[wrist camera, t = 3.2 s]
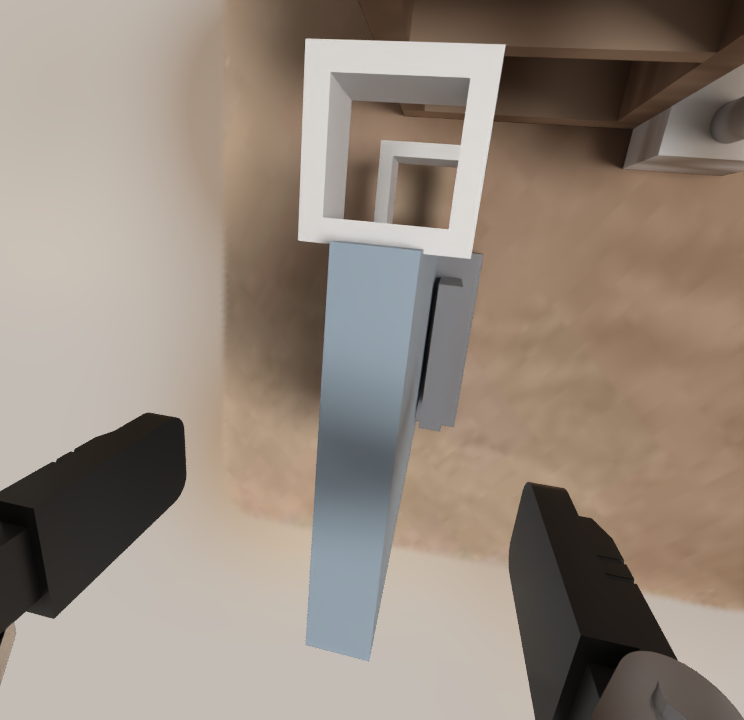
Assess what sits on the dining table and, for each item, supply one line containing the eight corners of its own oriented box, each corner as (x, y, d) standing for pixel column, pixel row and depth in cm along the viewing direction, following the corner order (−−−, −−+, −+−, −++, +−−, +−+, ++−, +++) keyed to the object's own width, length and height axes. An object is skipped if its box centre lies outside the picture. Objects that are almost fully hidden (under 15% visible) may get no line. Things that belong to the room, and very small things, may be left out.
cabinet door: (472, 165, 22) (512, 19, 7) (431, 430, 27) (405, 670, 12) (395, 159, 23) (287, 14, 8) (369, 419, 28) (272, 636, 13)
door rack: (482, 253, 24) (489, 258, 20) (453, 420, 28) (454, 458, 23) (367, 242, 26) (348, 243, 21) (353, 404, 29) (334, 437, 24)
